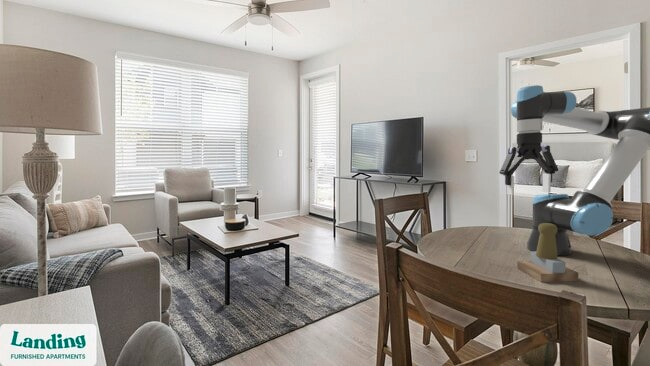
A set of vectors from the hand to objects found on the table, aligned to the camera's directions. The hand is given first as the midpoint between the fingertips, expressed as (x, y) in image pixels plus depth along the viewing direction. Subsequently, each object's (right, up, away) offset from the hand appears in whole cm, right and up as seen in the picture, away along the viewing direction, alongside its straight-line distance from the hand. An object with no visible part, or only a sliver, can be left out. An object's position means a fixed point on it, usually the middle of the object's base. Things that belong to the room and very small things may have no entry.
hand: (528, 193), depth 116 cm
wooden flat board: (+2, -28, -6) cm, 28 cm away
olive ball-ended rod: (+1, -21, -7) cm, 22 cm away
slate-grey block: (+2, -24, -7) cm, 25 cm away
